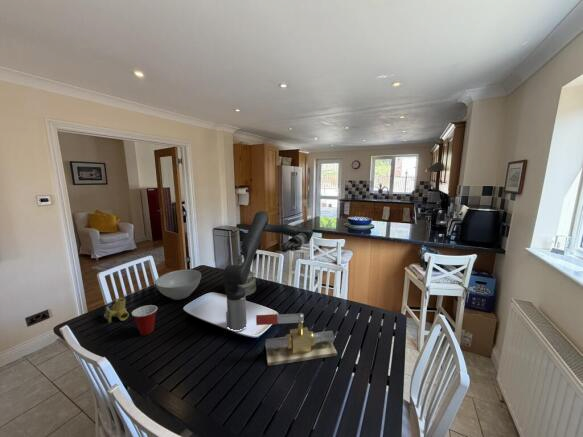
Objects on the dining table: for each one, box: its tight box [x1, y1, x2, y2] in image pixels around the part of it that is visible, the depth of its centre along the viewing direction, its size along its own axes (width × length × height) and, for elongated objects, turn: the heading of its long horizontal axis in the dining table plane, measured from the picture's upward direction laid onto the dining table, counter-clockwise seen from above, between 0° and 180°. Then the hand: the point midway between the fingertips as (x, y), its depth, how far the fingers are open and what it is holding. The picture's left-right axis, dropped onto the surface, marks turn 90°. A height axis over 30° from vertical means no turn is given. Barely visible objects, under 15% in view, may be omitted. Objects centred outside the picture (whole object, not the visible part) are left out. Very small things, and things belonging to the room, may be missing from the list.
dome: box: [236, 254, 257, 297], centre depth 156 cm, size 20×25×20 cm
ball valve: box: [103, 297, 130, 324], centre depth 127 cm, size 13×10×10 cm
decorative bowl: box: [154, 269, 202, 301], centre depth 151 cm, size 27×27×12 cm
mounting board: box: [265, 342, 338, 367], centre depth 104 cm, size 30×12×3 cm, turn 101°
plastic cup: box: [131, 304, 158, 336], centre depth 115 cm, size 11×11×12 cm
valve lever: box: [255, 312, 305, 326], centre depth 100 cm, size 20×3×3 cm, turn 94°
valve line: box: [265, 322, 335, 354], centre depth 102 cm, size 30×7×13 cm, turn 101°
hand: (283, 250), depth 122 cm, fingers closed
